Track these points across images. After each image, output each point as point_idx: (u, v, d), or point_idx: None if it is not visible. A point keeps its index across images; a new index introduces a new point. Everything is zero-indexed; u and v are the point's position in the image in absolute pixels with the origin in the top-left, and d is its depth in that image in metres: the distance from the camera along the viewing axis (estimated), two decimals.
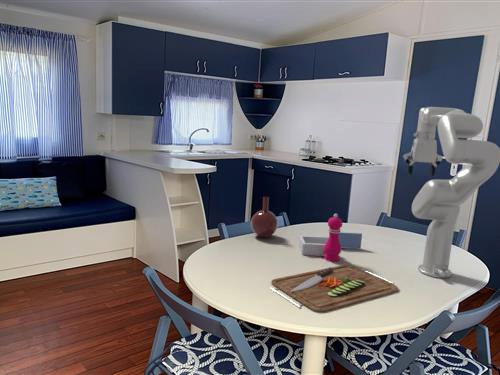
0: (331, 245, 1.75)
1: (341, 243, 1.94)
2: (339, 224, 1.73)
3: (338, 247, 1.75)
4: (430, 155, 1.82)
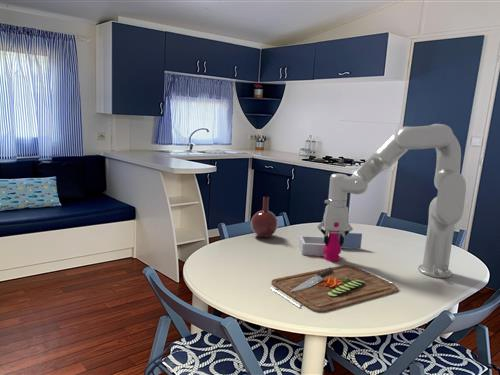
0: (331, 245, 1.75)
1: None
2: None
3: (338, 247, 1.75)
4: (341, 224, 1.73)
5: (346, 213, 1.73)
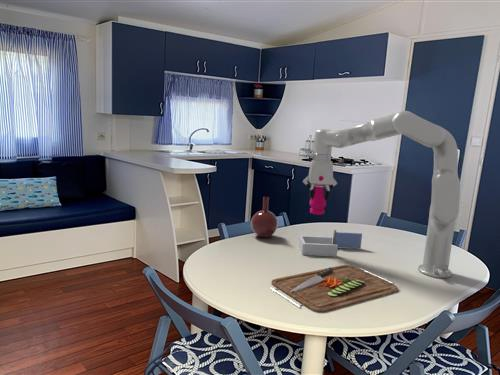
0: (316, 199, 1.81)
1: (341, 243, 1.94)
2: None
3: (323, 200, 1.81)
4: (326, 177, 1.80)
5: (330, 167, 1.79)
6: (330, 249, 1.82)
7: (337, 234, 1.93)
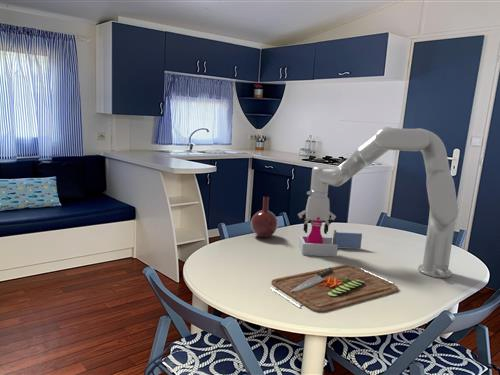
0: (313, 237, 1.84)
1: (341, 243, 1.94)
2: None
3: (320, 239, 1.85)
4: (323, 214, 1.83)
5: (327, 204, 1.82)
6: (330, 249, 1.82)
7: (337, 234, 1.93)
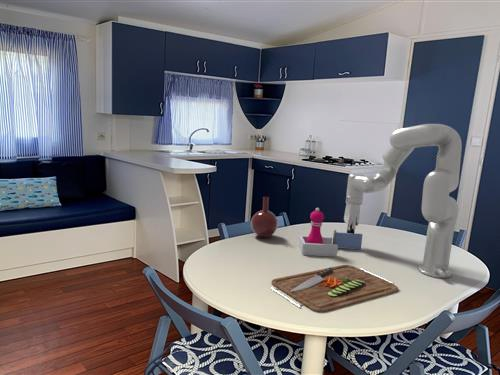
0: (313, 238, 1.84)
1: (341, 243, 1.94)
2: (320, 217, 1.83)
3: (320, 239, 1.85)
4: (347, 217, 1.93)
5: (349, 209, 1.90)
6: (330, 249, 1.82)
7: (337, 234, 1.93)
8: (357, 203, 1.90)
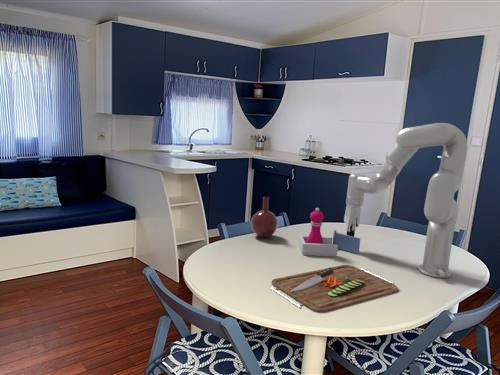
0: (313, 238, 1.84)
1: (339, 244, 1.92)
2: (320, 217, 1.83)
3: (320, 239, 1.85)
4: (347, 219, 1.88)
5: (349, 210, 1.85)
6: (330, 249, 1.82)
7: (336, 234, 1.93)
8: (358, 204, 1.85)
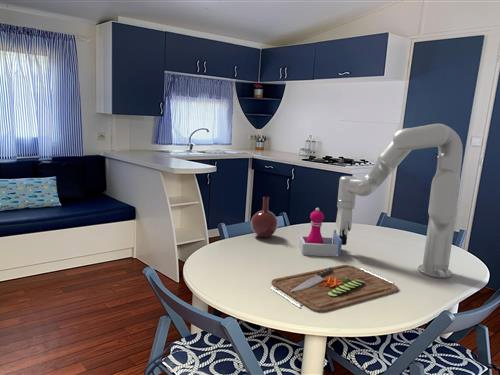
0: (313, 238, 1.84)
1: None
2: (320, 217, 1.83)
3: (320, 239, 1.85)
4: (339, 222, 1.83)
5: (341, 213, 1.81)
6: (330, 249, 1.82)
7: (334, 234, 1.93)
8: (349, 207, 1.80)
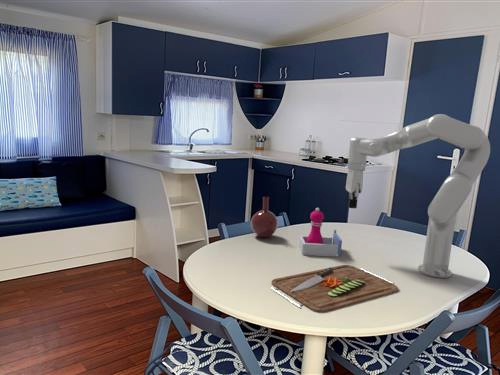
0: (313, 238, 1.84)
1: None
2: (320, 217, 1.83)
3: (320, 239, 1.85)
4: (349, 185, 1.80)
5: (352, 175, 1.77)
6: (330, 249, 1.82)
7: (334, 234, 1.93)
8: (360, 169, 1.77)
